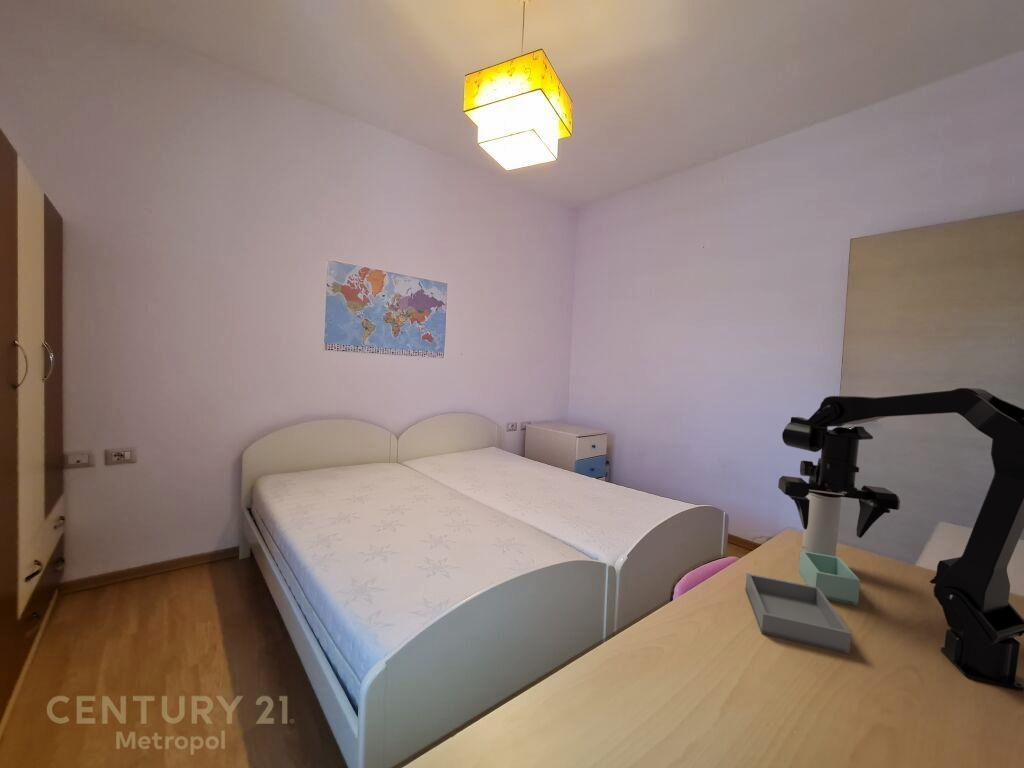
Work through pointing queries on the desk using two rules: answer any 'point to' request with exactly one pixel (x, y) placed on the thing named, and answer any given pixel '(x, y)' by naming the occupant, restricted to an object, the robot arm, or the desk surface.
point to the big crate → (796, 613)
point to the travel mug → (822, 524)
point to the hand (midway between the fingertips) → (831, 532)
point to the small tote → (830, 577)
